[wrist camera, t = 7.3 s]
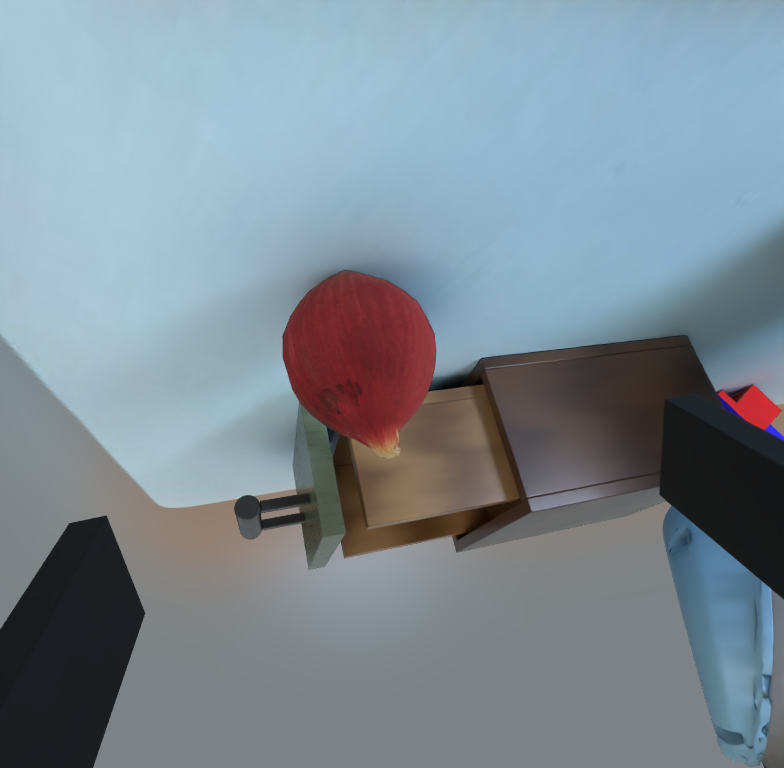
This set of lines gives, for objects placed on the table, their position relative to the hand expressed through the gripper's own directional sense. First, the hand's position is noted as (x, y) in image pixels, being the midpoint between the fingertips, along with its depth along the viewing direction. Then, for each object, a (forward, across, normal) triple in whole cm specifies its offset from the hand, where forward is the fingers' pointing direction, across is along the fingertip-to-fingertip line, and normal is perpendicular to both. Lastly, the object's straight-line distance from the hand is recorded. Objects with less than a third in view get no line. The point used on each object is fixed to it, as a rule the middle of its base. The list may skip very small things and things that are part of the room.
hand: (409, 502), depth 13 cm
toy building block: (+34, +38, -18) cm, 54 cm away
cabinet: (+25, +15, -10) cm, 31 cm away
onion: (+12, 0, +4) cm, 12 cm away
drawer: (+23, +1, -9) cm, 24 cm away
